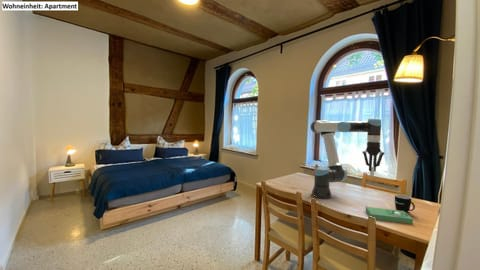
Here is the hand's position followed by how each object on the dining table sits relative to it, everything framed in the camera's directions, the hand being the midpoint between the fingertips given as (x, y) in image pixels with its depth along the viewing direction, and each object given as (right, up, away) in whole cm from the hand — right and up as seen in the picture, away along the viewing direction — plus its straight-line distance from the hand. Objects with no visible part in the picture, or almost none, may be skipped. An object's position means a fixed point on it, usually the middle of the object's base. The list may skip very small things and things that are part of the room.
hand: (371, 176), depth 143 cm
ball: (+11, -23, -9) cm, 27 cm away
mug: (+23, -25, +1) cm, 34 cm away
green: (+5, -25, -7) cm, 27 cm away
